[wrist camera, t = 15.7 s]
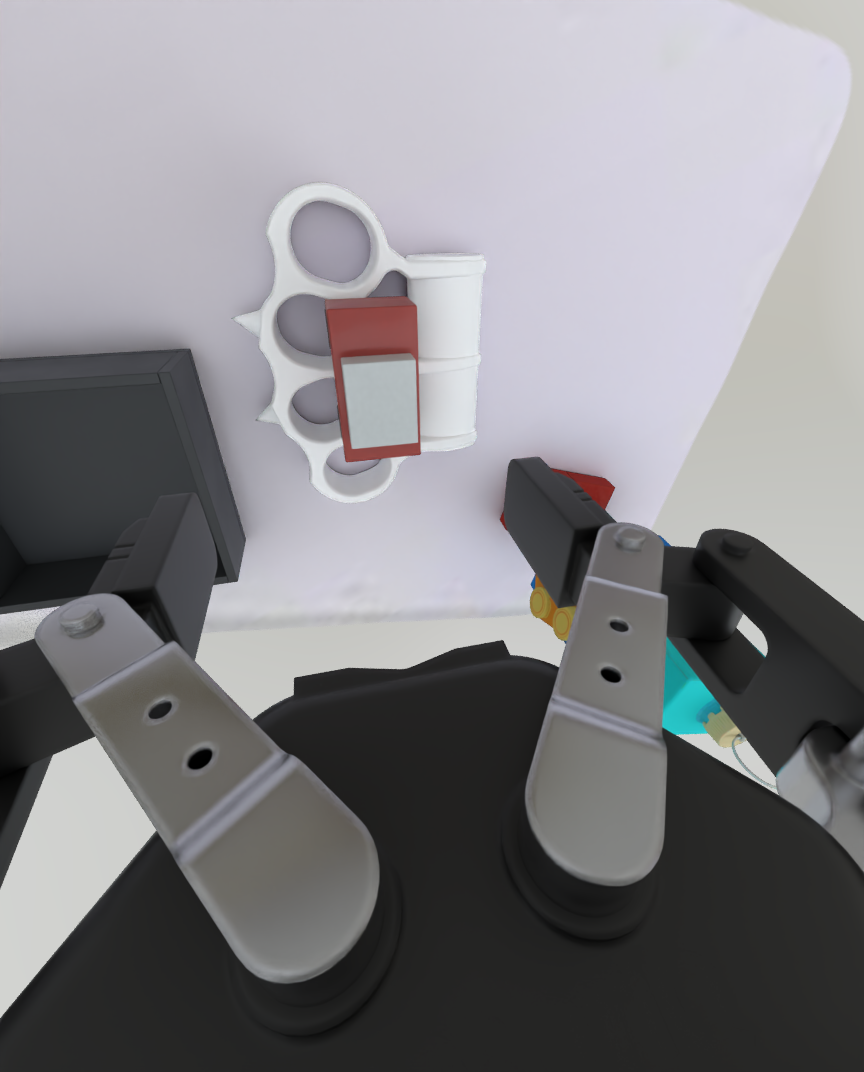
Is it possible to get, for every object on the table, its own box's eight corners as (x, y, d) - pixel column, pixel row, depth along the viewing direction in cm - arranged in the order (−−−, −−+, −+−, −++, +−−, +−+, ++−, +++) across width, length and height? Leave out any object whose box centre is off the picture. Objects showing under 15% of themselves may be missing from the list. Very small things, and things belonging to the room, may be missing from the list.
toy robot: (620, 480, 41) (921, 740, 21) (589, 537, 44) (826, 811, 24) (503, 459, 37) (734, 751, 17) (479, 522, 40) (649, 834, 20)
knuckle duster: (466, 469, 37) (275, 490, 34) (477, 185, 26) (205, 184, 24) (478, 490, 34) (272, 513, 32) (496, 182, 24) (192, 181, 21)
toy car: (410, 430, 30) (426, 465, 26) (341, 437, 30) (346, 474, 25) (405, 294, 26) (424, 309, 22) (323, 297, 25) (326, 314, 21)
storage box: (26, 567, 33) (-13, 616, 29) (-107, 364, 25) (-186, 394, 21) (246, 540, 36) (237, 581, 32) (190, 348, 28) (169, 371, 24)
